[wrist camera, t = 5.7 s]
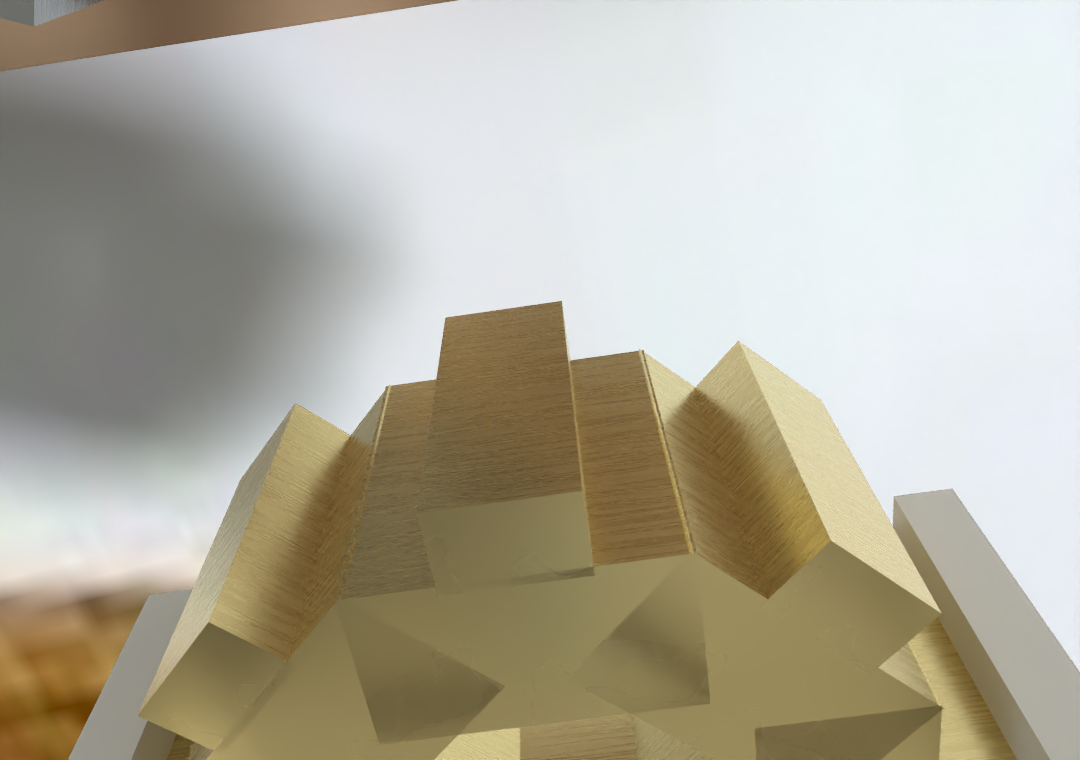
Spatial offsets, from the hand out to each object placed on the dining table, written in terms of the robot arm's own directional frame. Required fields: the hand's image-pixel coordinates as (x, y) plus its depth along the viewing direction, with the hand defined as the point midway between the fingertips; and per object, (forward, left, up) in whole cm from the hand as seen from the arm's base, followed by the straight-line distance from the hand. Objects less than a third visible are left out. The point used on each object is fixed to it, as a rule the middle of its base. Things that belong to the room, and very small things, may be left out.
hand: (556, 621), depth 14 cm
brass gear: (0, 0, 0) cm, 0 cm away
